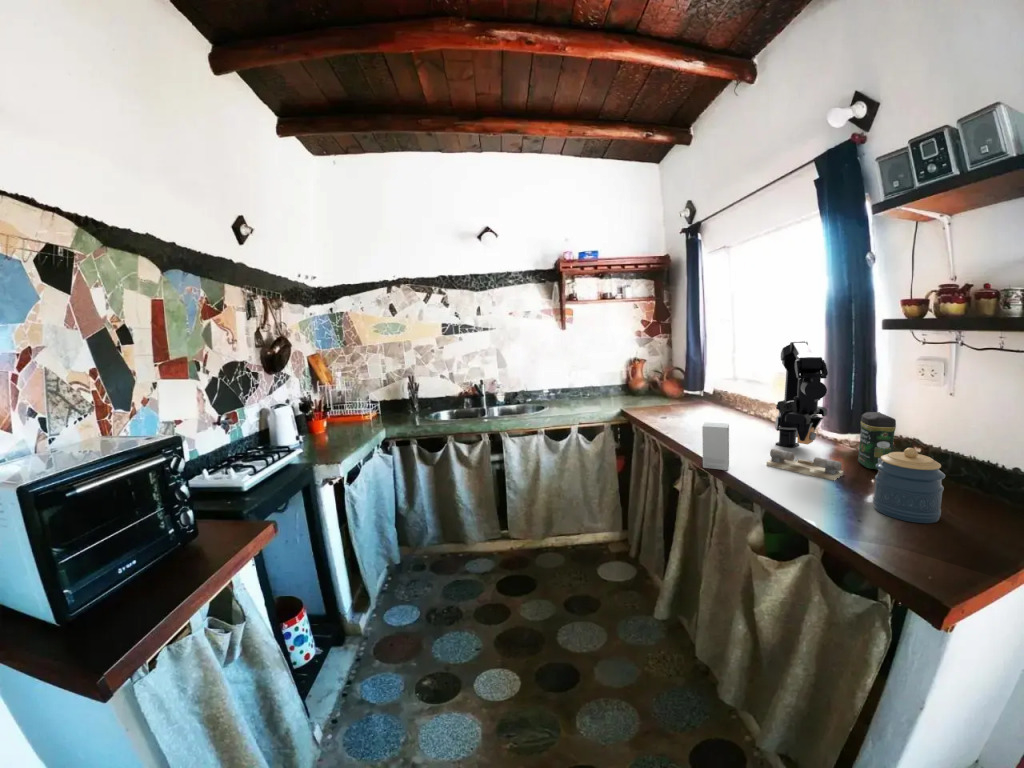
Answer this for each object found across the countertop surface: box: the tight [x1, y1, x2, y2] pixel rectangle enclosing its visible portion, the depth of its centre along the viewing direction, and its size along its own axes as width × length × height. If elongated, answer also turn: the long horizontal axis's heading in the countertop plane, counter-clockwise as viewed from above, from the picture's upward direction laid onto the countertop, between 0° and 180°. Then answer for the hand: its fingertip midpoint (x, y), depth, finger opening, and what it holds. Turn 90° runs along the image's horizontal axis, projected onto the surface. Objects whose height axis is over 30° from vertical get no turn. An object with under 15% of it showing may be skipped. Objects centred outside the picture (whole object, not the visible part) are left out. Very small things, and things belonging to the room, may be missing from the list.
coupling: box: [796, 427, 817, 445], centre depth 140 cm, size 5×5×5 cm
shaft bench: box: [766, 448, 845, 481], centre depth 141 cm, size 20×8×5 cm, turn 35°
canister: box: [872, 447, 946, 524], centre depth 108 cm, size 13×13×18 cm
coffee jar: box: [857, 411, 897, 471], centre depth 140 cm, size 10×8×19 cm
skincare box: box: [701, 421, 730, 471], centre depth 147 cm, size 8×7×16 cm
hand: (805, 439), depth 140 cm, fingers closed on coupling, 5 cm apart
